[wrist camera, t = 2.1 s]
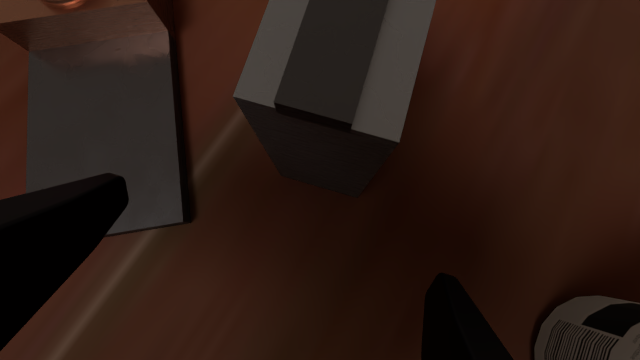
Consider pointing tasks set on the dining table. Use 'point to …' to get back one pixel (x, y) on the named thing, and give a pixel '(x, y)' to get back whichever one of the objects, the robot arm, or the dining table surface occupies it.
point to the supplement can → (591, 330)
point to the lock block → (333, 85)
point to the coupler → (104, 101)
